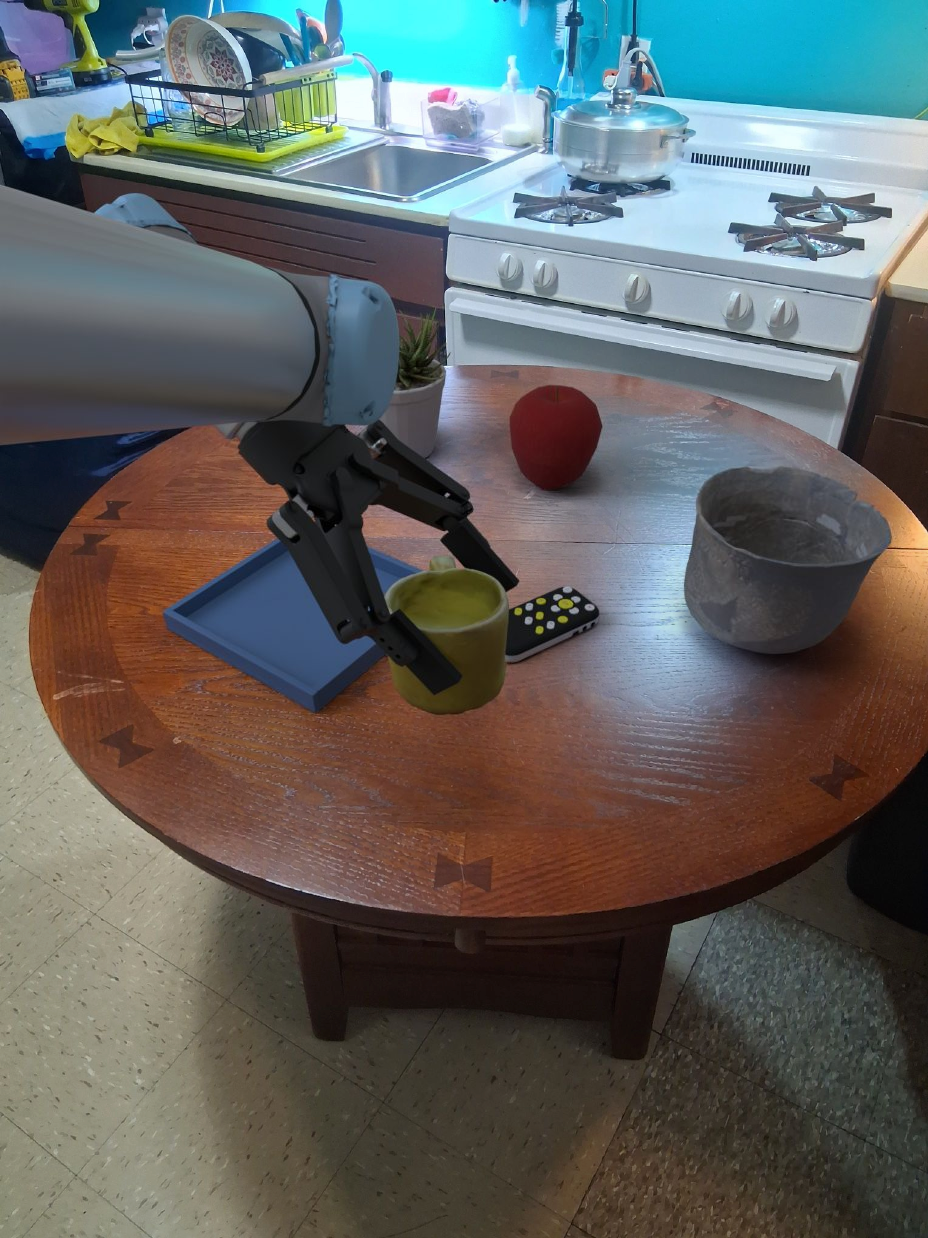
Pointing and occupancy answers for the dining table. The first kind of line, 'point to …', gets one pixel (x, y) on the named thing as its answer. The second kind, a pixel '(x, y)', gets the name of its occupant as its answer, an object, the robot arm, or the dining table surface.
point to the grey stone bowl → (778, 557)
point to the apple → (554, 435)
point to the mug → (454, 633)
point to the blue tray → (278, 626)
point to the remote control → (547, 622)
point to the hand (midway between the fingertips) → (479, 635)
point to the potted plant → (417, 392)
